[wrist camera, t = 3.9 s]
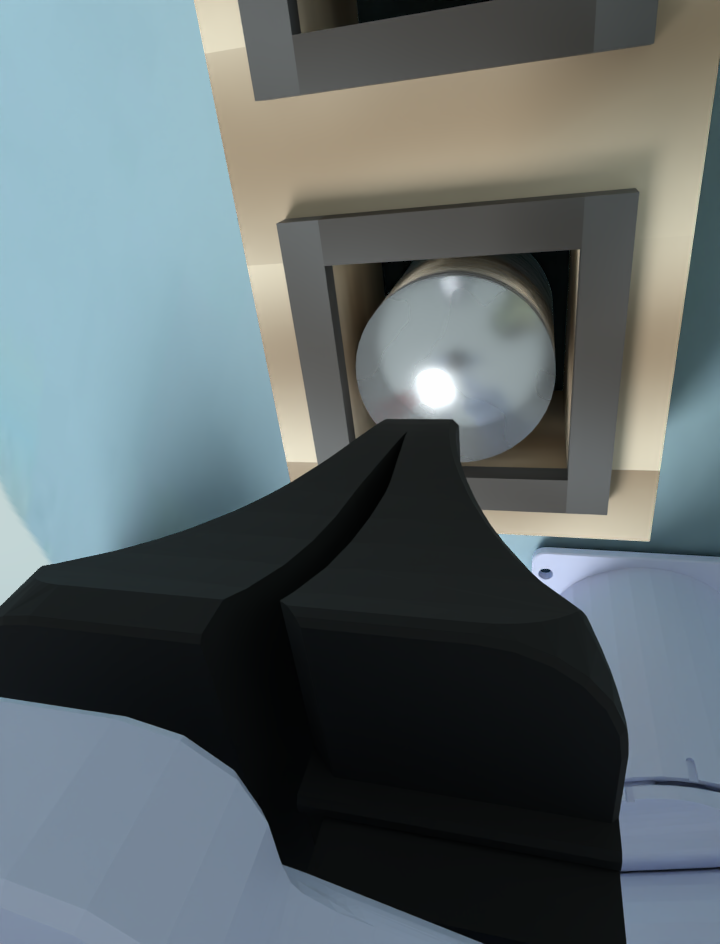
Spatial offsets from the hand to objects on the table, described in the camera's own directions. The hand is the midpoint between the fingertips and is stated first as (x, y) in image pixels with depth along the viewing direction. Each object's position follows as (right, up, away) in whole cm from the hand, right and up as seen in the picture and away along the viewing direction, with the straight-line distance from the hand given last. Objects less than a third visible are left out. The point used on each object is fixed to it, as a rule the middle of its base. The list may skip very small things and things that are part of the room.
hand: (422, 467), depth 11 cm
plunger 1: (+2, +5, +8) cm, 9 cm away
